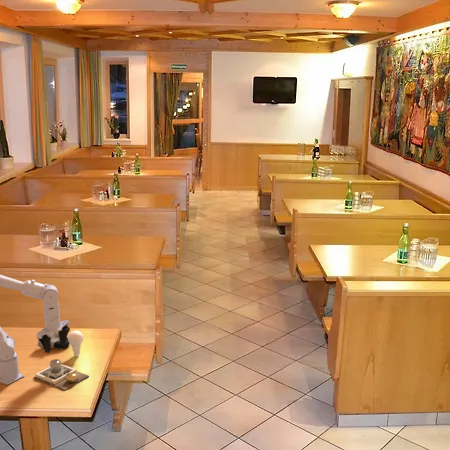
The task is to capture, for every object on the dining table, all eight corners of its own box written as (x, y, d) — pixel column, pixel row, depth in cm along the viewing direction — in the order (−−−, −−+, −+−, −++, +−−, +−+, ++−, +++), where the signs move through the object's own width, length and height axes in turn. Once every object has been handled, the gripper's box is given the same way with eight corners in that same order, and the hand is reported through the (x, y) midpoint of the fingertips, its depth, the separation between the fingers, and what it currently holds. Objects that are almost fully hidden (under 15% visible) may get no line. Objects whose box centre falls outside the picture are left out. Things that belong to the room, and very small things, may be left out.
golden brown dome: (64, 381, 216) (63, 375, 216) (72, 376, 220) (72, 370, 219) (72, 384, 214) (71, 378, 214) (80, 379, 218) (80, 373, 217)
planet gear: (42, 376, 221) (40, 363, 220) (57, 368, 227) (56, 355, 226) (55, 381, 217) (54, 368, 215) (70, 373, 223) (69, 360, 222)
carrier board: (33, 378, 220) (33, 377, 220) (58, 365, 230) (58, 364, 230) (64, 390, 211) (64, 389, 211) (89, 376, 221) (88, 375, 221)
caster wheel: (72, 350, 249) (55, 356, 240) (53, 340, 254) (36, 345, 245) (75, 336, 247) (58, 342, 239) (56, 326, 252) (39, 331, 243)
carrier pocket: (35, 376, 220) (35, 374, 220) (57, 365, 229) (57, 362, 229) (54, 384, 215) (54, 381, 214) (76, 372, 223) (76, 369, 223)
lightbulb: (69, 360, 235) (67, 335, 232) (69, 353, 240) (67, 329, 238) (84, 357, 236) (82, 333, 233) (84, 351, 242) (82, 327, 239)
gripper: (44, 325, 212) (47, 358, 216) (73, 312, 224) (76, 344, 228) (31, 321, 216) (35, 354, 220) (61, 308, 228) (64, 339, 231)
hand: (55, 348), depth 224 cm, fingers open, 7 cm apart
